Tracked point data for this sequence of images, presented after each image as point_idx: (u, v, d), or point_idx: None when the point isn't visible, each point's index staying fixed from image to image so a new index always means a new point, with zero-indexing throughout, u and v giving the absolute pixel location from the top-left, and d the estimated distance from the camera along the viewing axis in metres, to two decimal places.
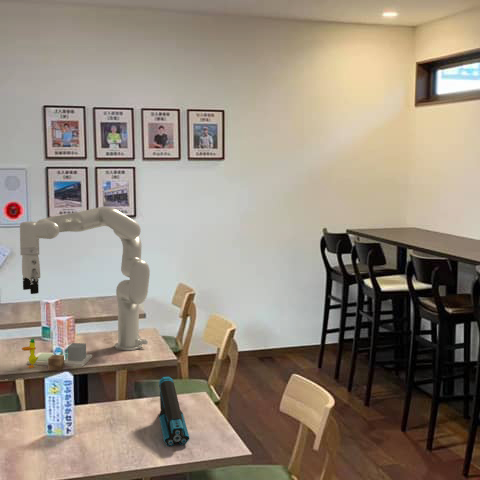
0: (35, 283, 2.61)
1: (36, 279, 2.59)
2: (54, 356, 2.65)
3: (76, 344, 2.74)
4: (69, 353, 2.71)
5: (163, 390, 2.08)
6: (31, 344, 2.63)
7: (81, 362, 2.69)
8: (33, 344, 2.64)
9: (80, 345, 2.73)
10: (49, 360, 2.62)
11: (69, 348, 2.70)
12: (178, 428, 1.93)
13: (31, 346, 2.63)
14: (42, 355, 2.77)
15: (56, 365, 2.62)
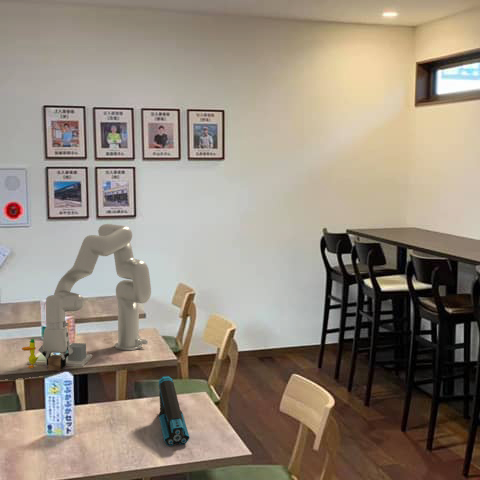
0: None
1: None
2: (54, 356, 2.65)
3: (76, 344, 2.74)
4: None
5: (163, 390, 2.08)
6: (31, 344, 2.63)
7: (81, 362, 2.69)
8: (33, 344, 2.64)
9: (80, 345, 2.73)
10: (49, 360, 2.62)
11: None
12: (178, 428, 1.93)
13: (31, 346, 2.63)
14: (42, 355, 2.77)
15: (56, 365, 2.62)
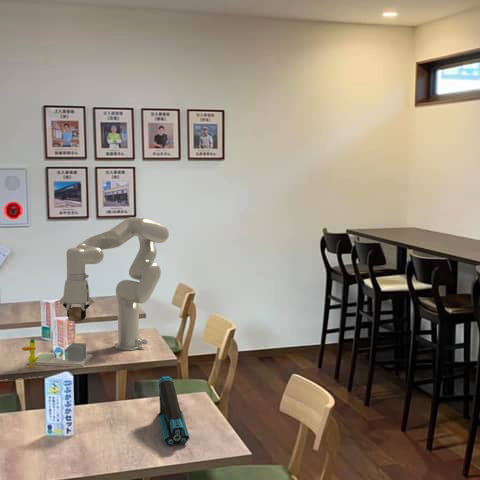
0: None
1: None
2: (74, 307, 2.72)
3: (76, 344, 2.74)
4: (69, 353, 2.71)
5: (163, 390, 2.08)
6: (31, 344, 2.63)
7: (81, 362, 2.69)
8: (33, 344, 2.64)
9: (80, 345, 2.73)
10: (70, 311, 2.69)
11: (69, 348, 2.70)
12: (178, 427, 1.94)
13: (31, 346, 2.63)
14: (42, 355, 2.77)
15: (77, 316, 2.69)
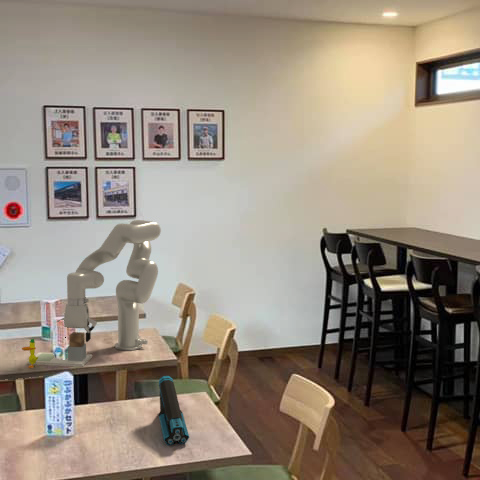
0: None
1: (94, 326, 2.71)
2: (75, 333, 2.73)
3: None
4: (69, 353, 2.71)
5: (163, 389, 2.09)
6: (31, 344, 2.63)
7: (81, 362, 2.69)
8: (33, 344, 2.64)
9: None
10: (70, 337, 2.70)
11: (69, 348, 2.70)
12: (178, 427, 1.94)
13: (31, 346, 2.63)
14: (42, 355, 2.77)
15: (77, 342, 2.70)
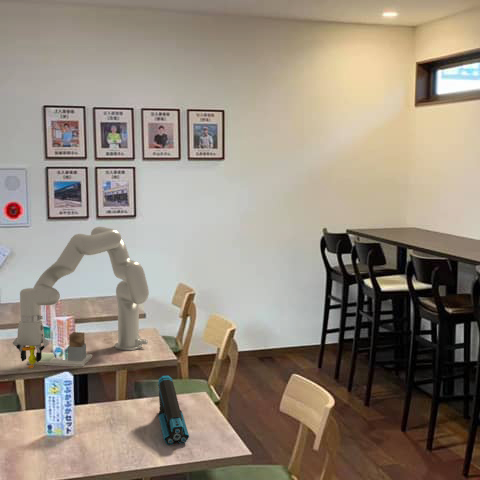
0: None
1: (45, 346, 2.64)
2: (75, 333, 2.73)
3: None
4: (69, 353, 2.71)
5: (162, 389, 2.09)
6: None
7: (81, 362, 2.69)
8: None
9: None
10: (70, 337, 2.70)
11: (69, 348, 2.70)
12: (178, 427, 1.94)
13: (31, 346, 2.63)
14: (42, 355, 2.77)
15: (77, 342, 2.70)
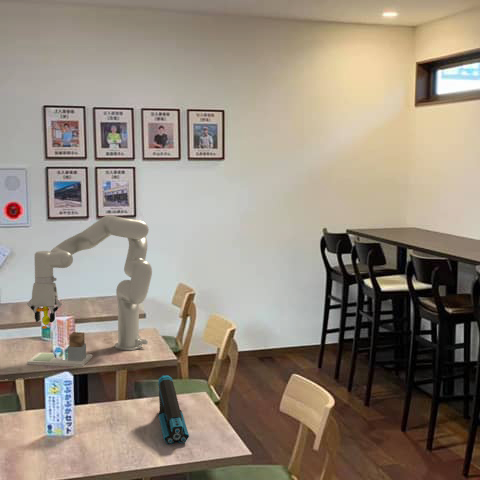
0: None
1: (58, 308, 2.72)
2: (75, 333, 2.73)
3: None
4: (69, 353, 2.71)
5: (162, 389, 2.09)
6: None
7: (81, 362, 2.69)
8: None
9: None
10: (70, 337, 2.70)
11: (69, 348, 2.70)
12: (178, 426, 1.94)
13: (45, 307, 2.71)
14: (42, 355, 2.77)
15: (77, 342, 2.70)
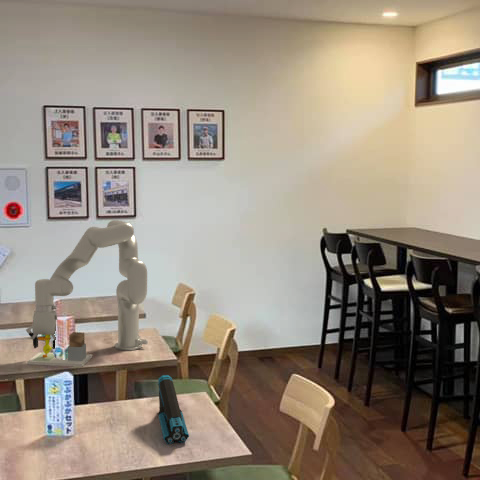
0: None
1: None
2: (75, 333, 2.73)
3: None
4: (69, 353, 2.71)
5: (162, 388, 2.09)
6: None
7: (81, 362, 2.69)
8: None
9: None
10: (70, 337, 2.70)
11: (69, 348, 2.70)
12: (178, 426, 1.95)
13: (47, 336, 2.73)
14: None
15: (77, 342, 2.70)
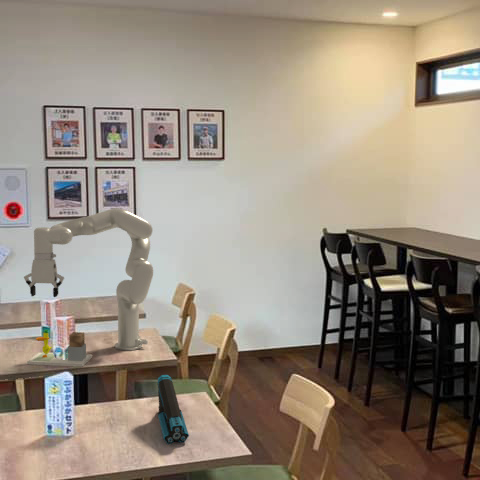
0: (58, 286, 2.70)
1: (62, 281, 2.70)
2: (75, 333, 2.73)
3: None
4: (69, 353, 2.71)
5: (162, 388, 2.10)
6: (45, 334, 2.73)
7: (81, 362, 2.69)
8: (47, 334, 2.73)
9: None
10: (70, 337, 2.70)
11: (69, 348, 2.70)
12: (178, 426, 1.95)
13: (45, 336, 2.73)
14: (42, 355, 2.77)
15: (77, 342, 2.70)
